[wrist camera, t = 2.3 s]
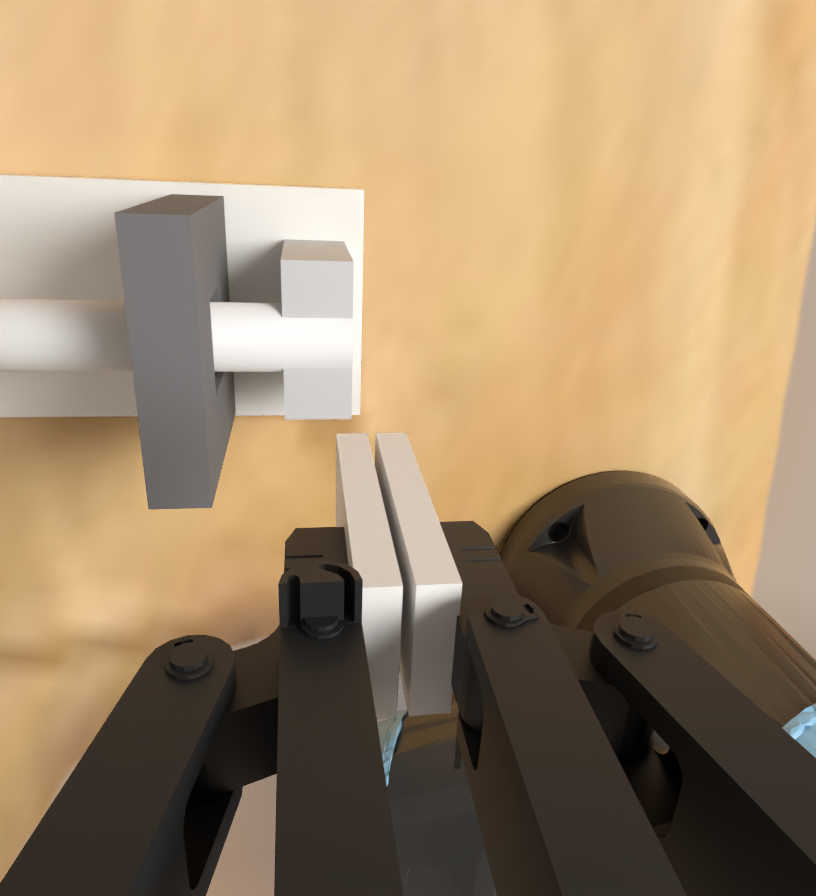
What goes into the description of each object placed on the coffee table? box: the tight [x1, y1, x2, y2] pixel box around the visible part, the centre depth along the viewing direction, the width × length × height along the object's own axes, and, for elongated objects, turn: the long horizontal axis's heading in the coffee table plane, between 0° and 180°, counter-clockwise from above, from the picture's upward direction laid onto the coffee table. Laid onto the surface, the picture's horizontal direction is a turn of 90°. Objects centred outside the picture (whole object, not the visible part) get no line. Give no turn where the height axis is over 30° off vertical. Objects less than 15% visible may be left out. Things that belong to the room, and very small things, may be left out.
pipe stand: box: [0, 174, 364, 420], centre depth 32 cm, size 30×12×9 cm, turn 87°
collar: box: [114, 194, 236, 509], centre depth 30 cm, size 2×11×11 cm, turn 177°
